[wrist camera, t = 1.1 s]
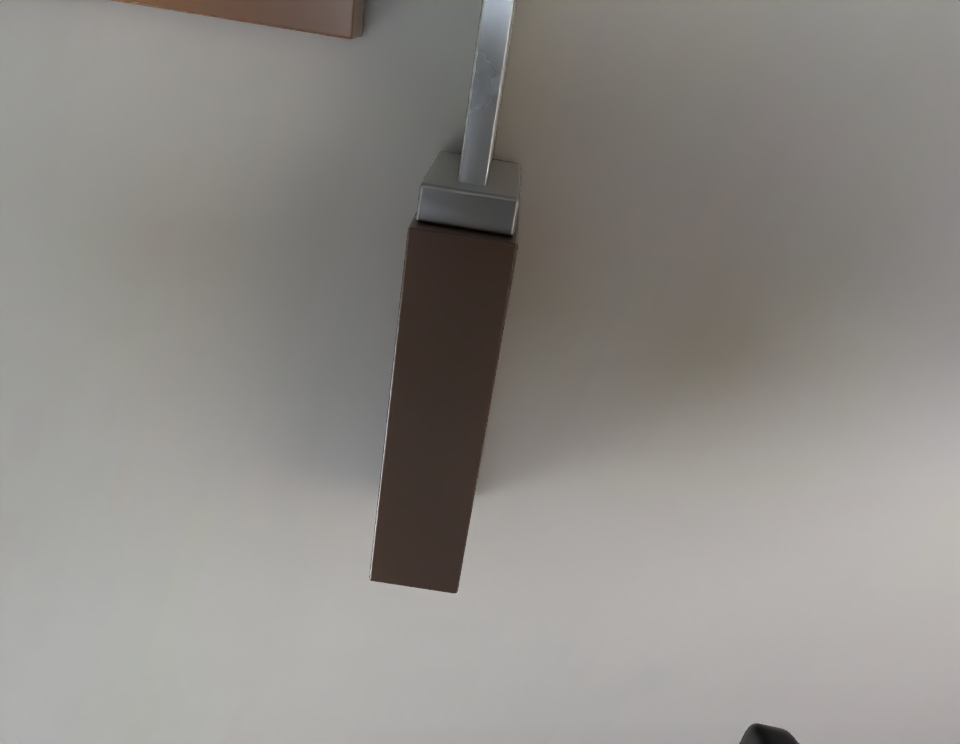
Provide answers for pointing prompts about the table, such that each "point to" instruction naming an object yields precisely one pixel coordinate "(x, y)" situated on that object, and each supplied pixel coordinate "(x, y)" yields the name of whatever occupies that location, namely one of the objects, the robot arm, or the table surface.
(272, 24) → the butter board
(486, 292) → the knife
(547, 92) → the table surface
